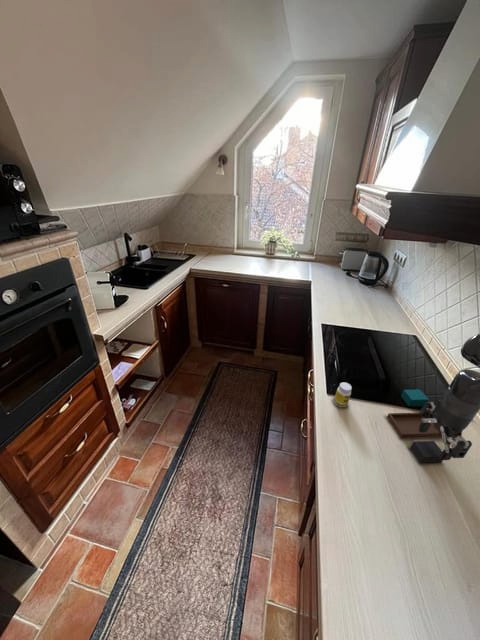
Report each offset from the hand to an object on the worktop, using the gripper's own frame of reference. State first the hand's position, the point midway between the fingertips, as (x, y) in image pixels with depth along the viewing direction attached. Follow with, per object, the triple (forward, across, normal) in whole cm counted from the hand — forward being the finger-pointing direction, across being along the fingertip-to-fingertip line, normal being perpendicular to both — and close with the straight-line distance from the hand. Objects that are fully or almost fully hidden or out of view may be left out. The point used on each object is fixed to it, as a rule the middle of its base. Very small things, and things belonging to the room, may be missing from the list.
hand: (431, 444), depth 74 cm
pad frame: (+6, +10, -4) cm, 12 cm away
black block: (+6, 0, 0) cm, 6 cm away
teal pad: (+6, +21, -10) cm, 24 cm away
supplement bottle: (+6, +21, +18) cm, 28 cm away
